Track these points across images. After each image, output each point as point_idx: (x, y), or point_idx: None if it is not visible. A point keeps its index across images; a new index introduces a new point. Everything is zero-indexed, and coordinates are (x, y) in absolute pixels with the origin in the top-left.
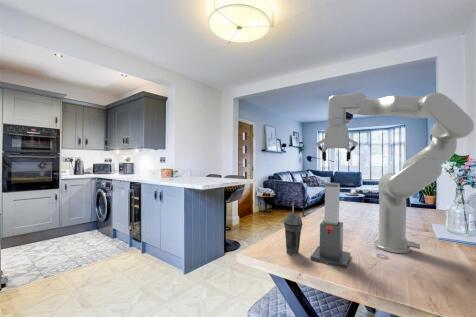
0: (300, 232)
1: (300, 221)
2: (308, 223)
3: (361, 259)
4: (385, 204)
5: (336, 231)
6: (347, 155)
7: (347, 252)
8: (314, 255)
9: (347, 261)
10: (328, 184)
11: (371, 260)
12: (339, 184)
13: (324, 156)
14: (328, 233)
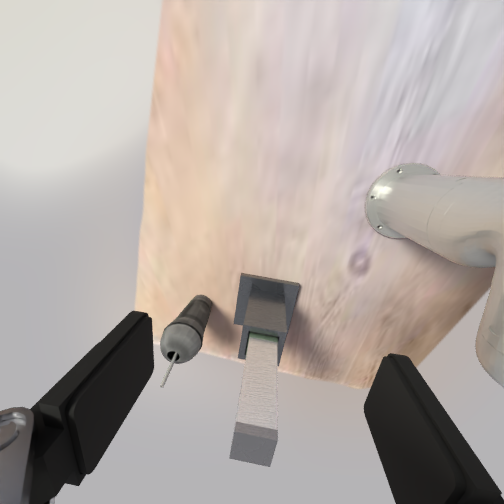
0: (204, 330)
1: (196, 352)
2: (191, 59)
3: (316, 290)
4: (453, 257)
5: None
6: (398, 487)
7: (294, 286)
8: (238, 318)
9: (289, 322)
10: (240, 458)
11: (333, 289)
12: (276, 441)
13: (120, 414)
14: None
